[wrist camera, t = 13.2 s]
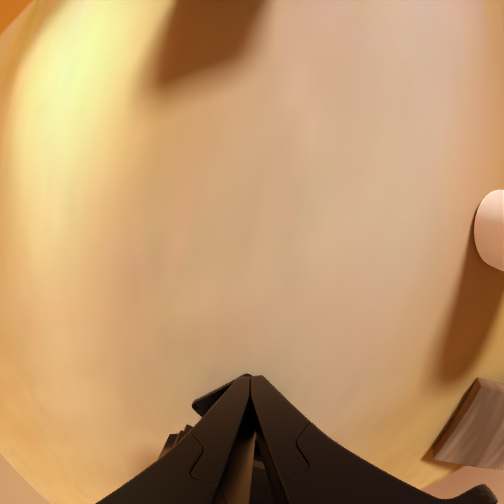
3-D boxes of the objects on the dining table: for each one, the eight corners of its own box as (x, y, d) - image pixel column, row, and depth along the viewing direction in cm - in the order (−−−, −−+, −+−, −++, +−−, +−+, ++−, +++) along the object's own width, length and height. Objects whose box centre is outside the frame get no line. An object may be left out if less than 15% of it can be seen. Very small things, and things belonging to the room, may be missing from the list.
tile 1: (433, 459, 21) (502, 470, 16) (481, 387, 19) (551, 402, 14) (433, 448, 23) (500, 459, 18) (477, 377, 21) (546, 393, 16)
